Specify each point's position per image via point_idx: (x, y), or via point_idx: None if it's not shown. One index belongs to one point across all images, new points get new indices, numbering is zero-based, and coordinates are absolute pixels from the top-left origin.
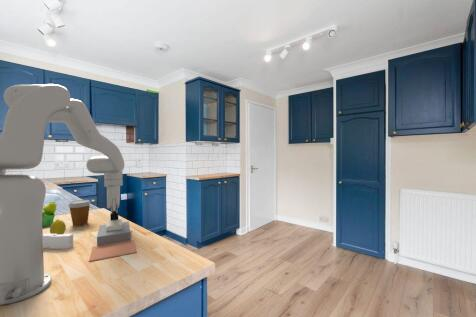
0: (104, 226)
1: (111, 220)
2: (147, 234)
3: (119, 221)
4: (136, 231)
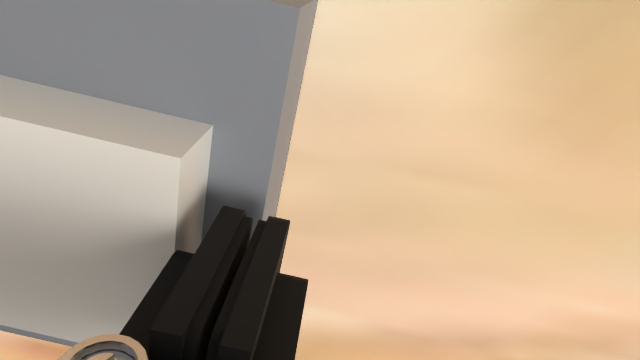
0: (163, 71)
1: (173, 230)
2: (21, 355)
3: (28, 304)
4: None
